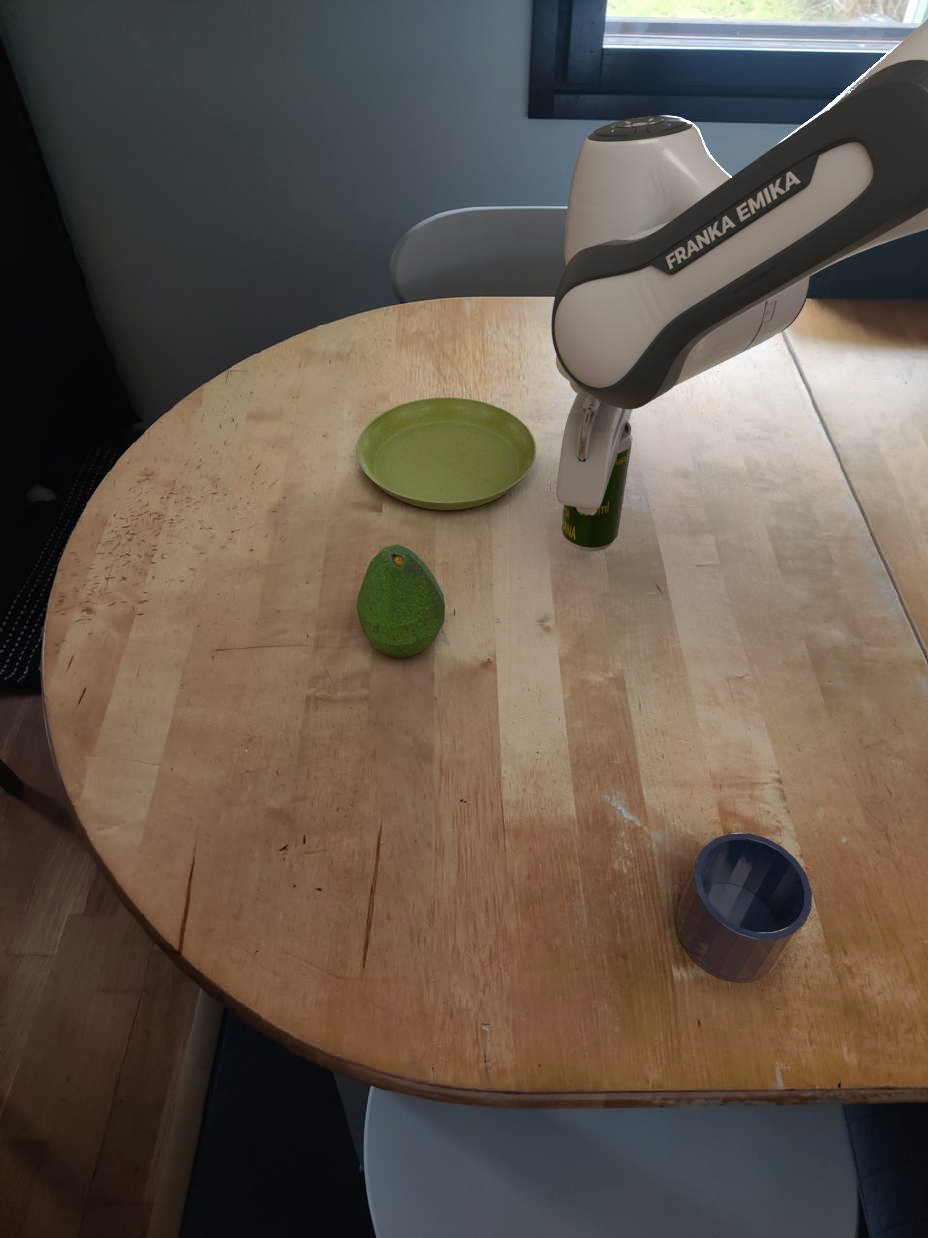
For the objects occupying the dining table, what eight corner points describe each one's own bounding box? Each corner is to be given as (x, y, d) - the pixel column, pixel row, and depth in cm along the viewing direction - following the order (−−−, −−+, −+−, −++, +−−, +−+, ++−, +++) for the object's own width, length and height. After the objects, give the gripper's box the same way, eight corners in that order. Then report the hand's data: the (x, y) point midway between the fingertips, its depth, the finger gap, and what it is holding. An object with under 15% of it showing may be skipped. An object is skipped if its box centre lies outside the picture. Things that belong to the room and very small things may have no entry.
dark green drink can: (605, 513, 84) (620, 406, 75) (625, 548, 80) (643, 439, 72) (553, 522, 83) (562, 415, 75) (571, 558, 79) (583, 449, 71)
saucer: (330, 504, 96) (327, 480, 94) (395, 407, 110) (393, 385, 107) (508, 539, 92) (510, 516, 89) (552, 435, 105) (554, 412, 103)
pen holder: (785, 897, 64) (813, 850, 58) (780, 997, 58) (810, 955, 53) (682, 868, 65) (701, 820, 60) (668, 964, 60) (687, 919, 55)
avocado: (353, 672, 79) (340, 576, 70) (371, 611, 84) (361, 516, 76) (439, 681, 78) (436, 586, 69) (452, 620, 83) (450, 524, 75)
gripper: (629, 421, 60) (607, 567, 70) (670, 296, 74) (647, 433, 84) (542, 407, 62) (533, 552, 71) (598, 287, 75) (584, 423, 85)
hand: (595, 487), depth 78 cm, fingers closed on dark green drink can, 5 cm apart
